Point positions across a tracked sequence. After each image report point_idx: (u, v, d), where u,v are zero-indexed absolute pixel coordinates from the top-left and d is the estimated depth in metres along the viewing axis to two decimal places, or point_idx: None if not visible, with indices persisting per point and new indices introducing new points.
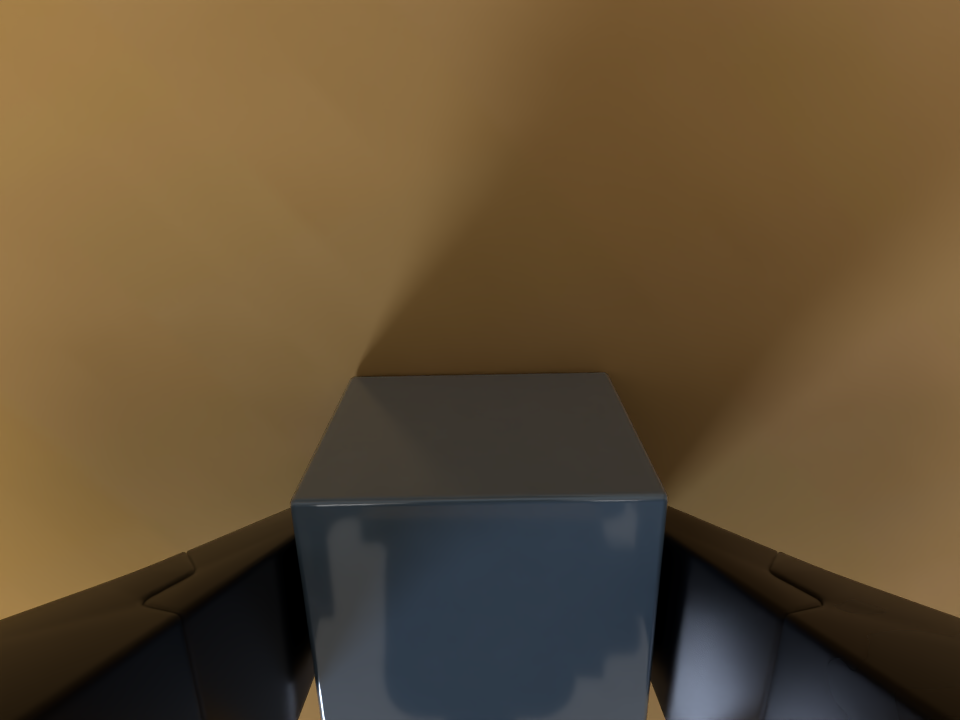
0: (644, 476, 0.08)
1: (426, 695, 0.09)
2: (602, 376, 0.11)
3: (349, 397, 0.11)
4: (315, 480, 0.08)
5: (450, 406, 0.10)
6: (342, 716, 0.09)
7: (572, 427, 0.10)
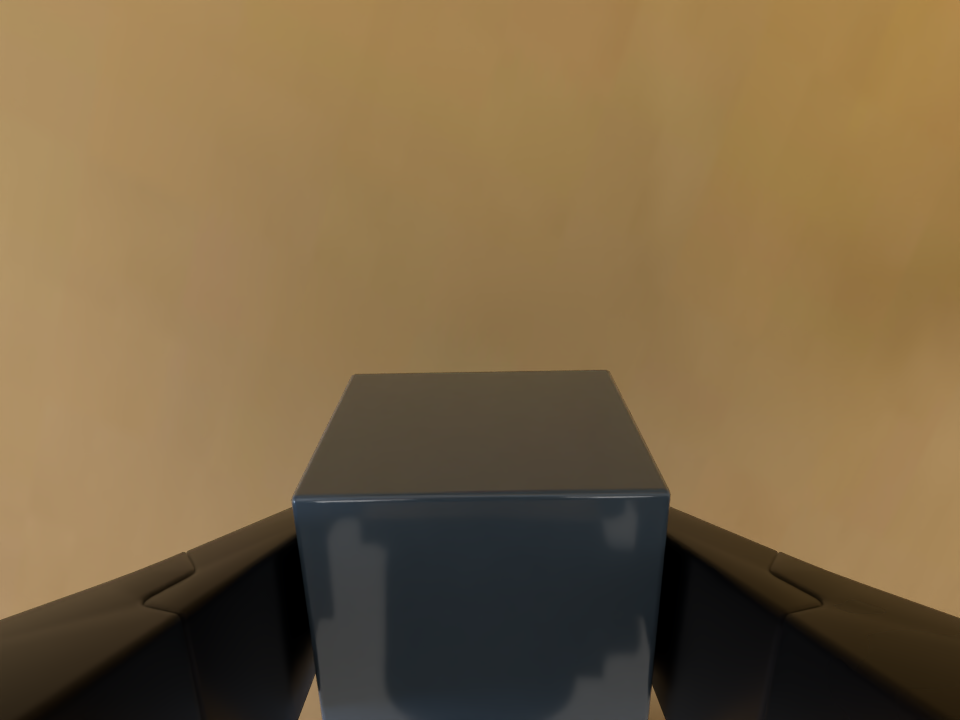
0: (646, 472, 0.08)
1: (427, 692, 0.09)
2: (604, 373, 0.11)
3: (350, 394, 0.11)
4: (316, 476, 0.08)
5: (451, 403, 0.10)
6: (343, 713, 0.09)
7: (575, 425, 0.09)
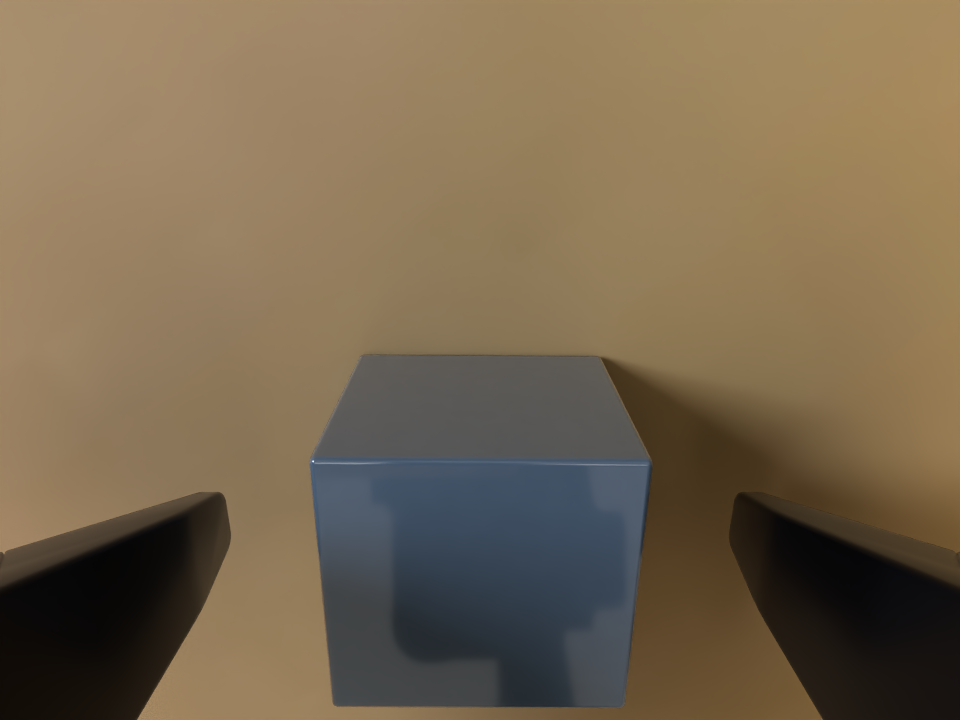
0: (631, 444, 0.09)
1: (427, 643, 0.10)
2: (595, 359, 0.12)
3: (360, 372, 0.11)
4: (332, 442, 0.09)
5: (454, 382, 0.11)
6: (349, 662, 0.10)
7: (568, 403, 0.10)
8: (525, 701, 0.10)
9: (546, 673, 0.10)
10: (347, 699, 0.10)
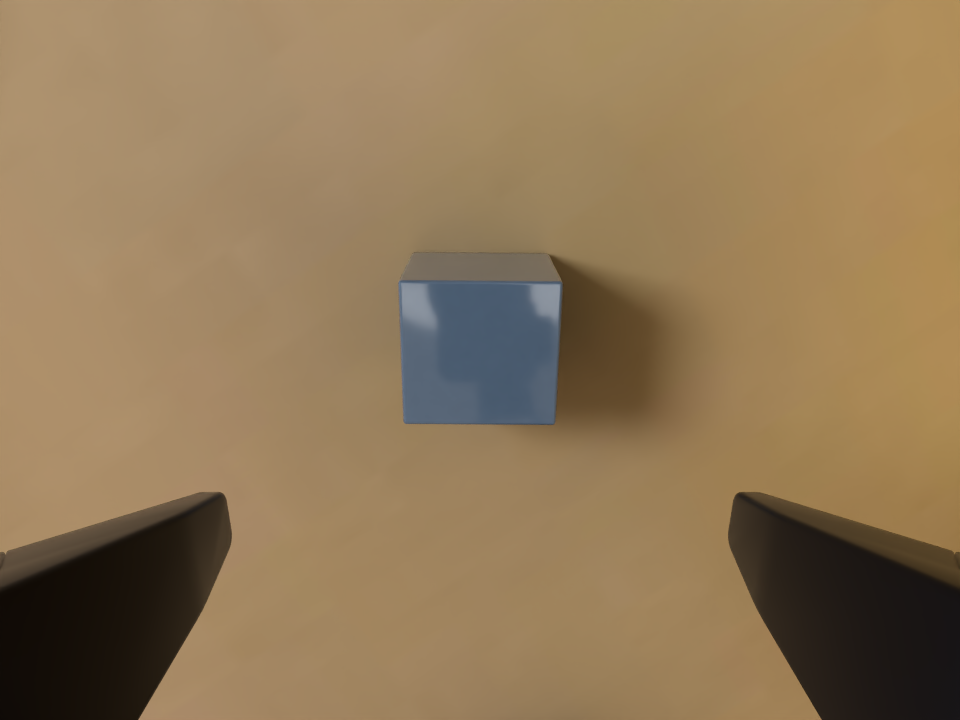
0: (554, 278, 0.18)
1: (453, 384, 0.19)
2: (545, 254, 0.22)
3: (414, 258, 0.21)
4: (407, 276, 0.19)
5: (466, 261, 0.21)
6: (413, 396, 0.19)
7: (525, 267, 0.20)
8: (503, 420, 0.20)
9: (513, 402, 0.19)
10: (411, 418, 0.20)
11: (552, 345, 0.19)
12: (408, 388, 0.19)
